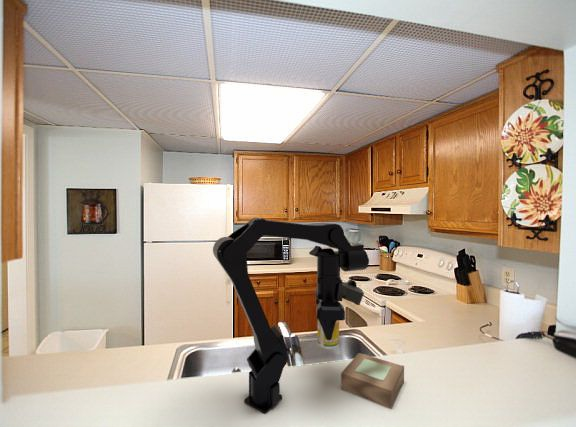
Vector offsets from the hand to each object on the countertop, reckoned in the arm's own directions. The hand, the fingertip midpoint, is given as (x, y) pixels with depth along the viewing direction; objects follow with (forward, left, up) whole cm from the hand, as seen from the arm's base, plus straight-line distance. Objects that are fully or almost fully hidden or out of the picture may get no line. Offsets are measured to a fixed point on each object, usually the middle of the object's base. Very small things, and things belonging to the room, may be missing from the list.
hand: (328, 334), depth 72 cm
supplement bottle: (0, 0, -3) cm, 3 cm away
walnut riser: (+10, +6, -12) cm, 17 cm away
